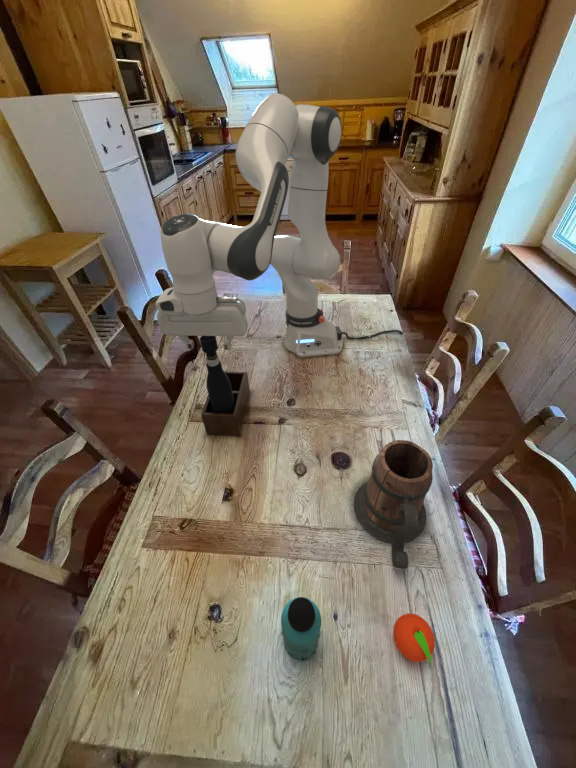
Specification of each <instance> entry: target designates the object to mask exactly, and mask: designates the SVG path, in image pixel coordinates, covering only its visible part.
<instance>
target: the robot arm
mask: <svg viewBox="0 0 576 768" xmlns="http://www.w3.org/2000/svg"><path fill="white" fill-rule="evenodd" d="M342 127H343V126H342V119H341V117H340V115H339V113H338V111H337V110H336V109H335V108H332V107H329V106H326V105H321V106H319V105H313V104H304V103H303V104H302V103H301V104H300V103H299V104H295V103H294V101H292V99H290V98H289V97H288V96H286V95H285V94H282V93H277V92H275V93H271V94H268V95H267V96H266V97H265V98H264V99H263V100H262V101H261V102H260V103H259V105H258V106H257V107H256V109H255V111H254V112H253V113H252V115H251V116H250V118H249V120H248V122H247V123H246V124H245V127H244V129H243V131H242V133H241V135H240V137H239V139H238V141H237V144H236V149H235V153H234V154H235V161H236V165H237V166H236V167H237V168H238V170H239V173H240V175H241V176H242V177H243V178H244V180H245V181H246V182H247V183H248V184H249V185H250V186H251V187H252V188H254V189H255V190H257V191H259V192H260V195H259V198H258V202H257V205H256V208H255V211H254V215H253V218H252V221H251V222H250V223H249V224H247V225H245V226H238V225H232V224H227V223H224V222H218V221H214V220H206V219H205V220H204V219H202V218H199V217H198V216H197V215H195V214H193V213H181V214H176V215H173V216H171V217H169V218H168V219H166V220H165V222H163V224H162V225H161V228H160V229H161V230H160V241H161V249H162V252H163V257H164V260H165V261H164V262H165V264H166V267H167V271H168V272H169V274H170V275H171V279H172V286H171V287H168V288H166V289H164V291H163V292H161V294H160V295H159V297H158V298H157V299H156V301H155V304H154V305H155V308H156V310H157V314H156V318H157V323H158V328H159V330H160V332H161V333H162V334H164V335H165V336H177V337H178V339H179V340H180V341H181V342H182V343H183V344H184V345H185V348H186V350H194V348H195V343H194V340H193V339H190V338H189V336H191V337H201V336H215V337H226V339H225V340H224V342H223V350H224V351H231V349H232V346H233V345H232V341H233V339H234V337H244V336H245V335H246V334H247V331H248V327H249V324H248V318H247V315H246V312H247V308H246V303H245V302H244V301H243V300H242V299H240V298H238V297H237V296H236V297H235V296H234V297H233V296H232V297H227V296H218V291H217V290H218V289H217V285H216V280H215V278H214V273H215V272H217V271H219V272H222V273H227V274H231V275H233V276H235V277H238V278H241V279H243V280H246V281H254V280H256V279H258V278H259V277H261V276H262V275H264V273H265V272H267V270H268V269H269V268H270V266H271V267H272V268H273V269H274V270H275V271H276V273H277V275H278V277H279V278H280V281H281V283H282V286H283V288H284V291H285V298H286V299H285V300H286V310H285V323H286V332H285V337H284V341H283V346H284V347H285V348H286V349H287V350H288V351H290V352H292V353H294V354H295V355H296V356H297V357H299V358H309V357H311V358H312V357H320V356H329V355H338V354H340V353H341V351H342V349H343V345H344V344H343V343H344V342H343V337H342V335H345V337H346V338H347V339H349V340H363V339H368V338H373V337H376V336H379V335H382V334H387V333H399V334H400V335H404V333H403V331H401V330H399V329H391V330H383V331H379V332H377V333H373V334H370V335H365V336H364V335H363V336H360V337H351V336H349V334H348V333H347V332H344V331H342V329H341V328H340V326H335V324H334V323H333V322H332V321H330V320H328V319H326V318H325V316H324V311H323V308H322V307H320V308H319V291H318V287H317V285H316V284H314V282H313V281H311V280H319V281H320V280H321V281H322V280H323V281H327V280H328V281H329V280H331V279H332V278H333V277H334V276H335V275H336V274H338V273H337V272H338V271H339V269H340V266H341V256H340V252H339V251H338V249H337V248H336V247H335V245H334V244H333V242H332V240H331V238H330V237H329V233H328V229H327V225H326V211H327V210H326V209H327V197H328V187H329V176H330V174H329V173H330V171H329V170H330V166H329V165H330V163H329V161H330V160H331V159H332V158H333V157H334V156H335V154H336V152H337V151H338V149H339V147H340V144H341V139H342V131H343V129H342ZM288 159H289V160H292V165H291V170H290V175H289V172H288V168H287V167H286V164H287V161H288ZM289 176H290V177H289ZM288 190H289V191H288ZM287 195H288V203H287V216H288V218H289V221H290V222H291V223H292V224H293V225H294V226H295V227H296V229H297V230H298V233H299V237H298V236H292V235H277V231H278V227H279V224H280V221H281V217H282V213H283V210H284V206H285V203H286V199H287Z"/></svg>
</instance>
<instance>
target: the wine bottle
mask: <svg viewBox="0 0 576 768" xmlns="http://www.w3.org/2000/svg"><path fill="white" fill-rule="evenodd" d="M199 343H200V346H201V350H202V352H203V353H204V354H206V355H205V356H206V357H205V361H206V363H205V366H206V369H207V370H206V371H207V375H206V390H207V393H208V394H209V398H210V401H211V405H212V409H213V413H228V414H233V413H234V409H235V404H234V399H233V394H232V389H231V384H230V381H229V379H228V377H227V375H226V373H225V372H224V371H225V370H224V369H223V365H222V361H221V360H220V356H219V355H218V352H217V351H218V350H219V346H218V341H217V336H199ZM208 394H207V395H208Z"/></svg>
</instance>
